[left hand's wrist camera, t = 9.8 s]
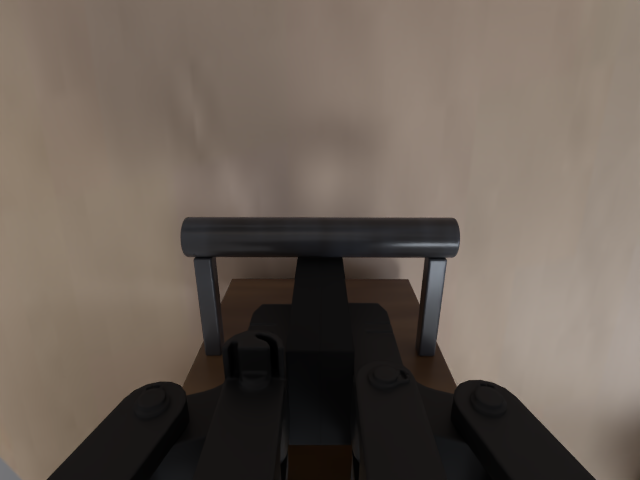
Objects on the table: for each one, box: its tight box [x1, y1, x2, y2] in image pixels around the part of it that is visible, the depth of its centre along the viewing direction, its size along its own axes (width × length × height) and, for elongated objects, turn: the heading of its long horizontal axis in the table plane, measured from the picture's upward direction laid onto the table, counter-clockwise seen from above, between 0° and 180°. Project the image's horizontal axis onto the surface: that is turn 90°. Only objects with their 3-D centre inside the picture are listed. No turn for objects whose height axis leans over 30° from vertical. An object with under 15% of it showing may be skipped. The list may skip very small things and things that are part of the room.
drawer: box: [181, 217, 460, 480], centre depth 18 cm, size 21×9×8 cm, turn 0°
